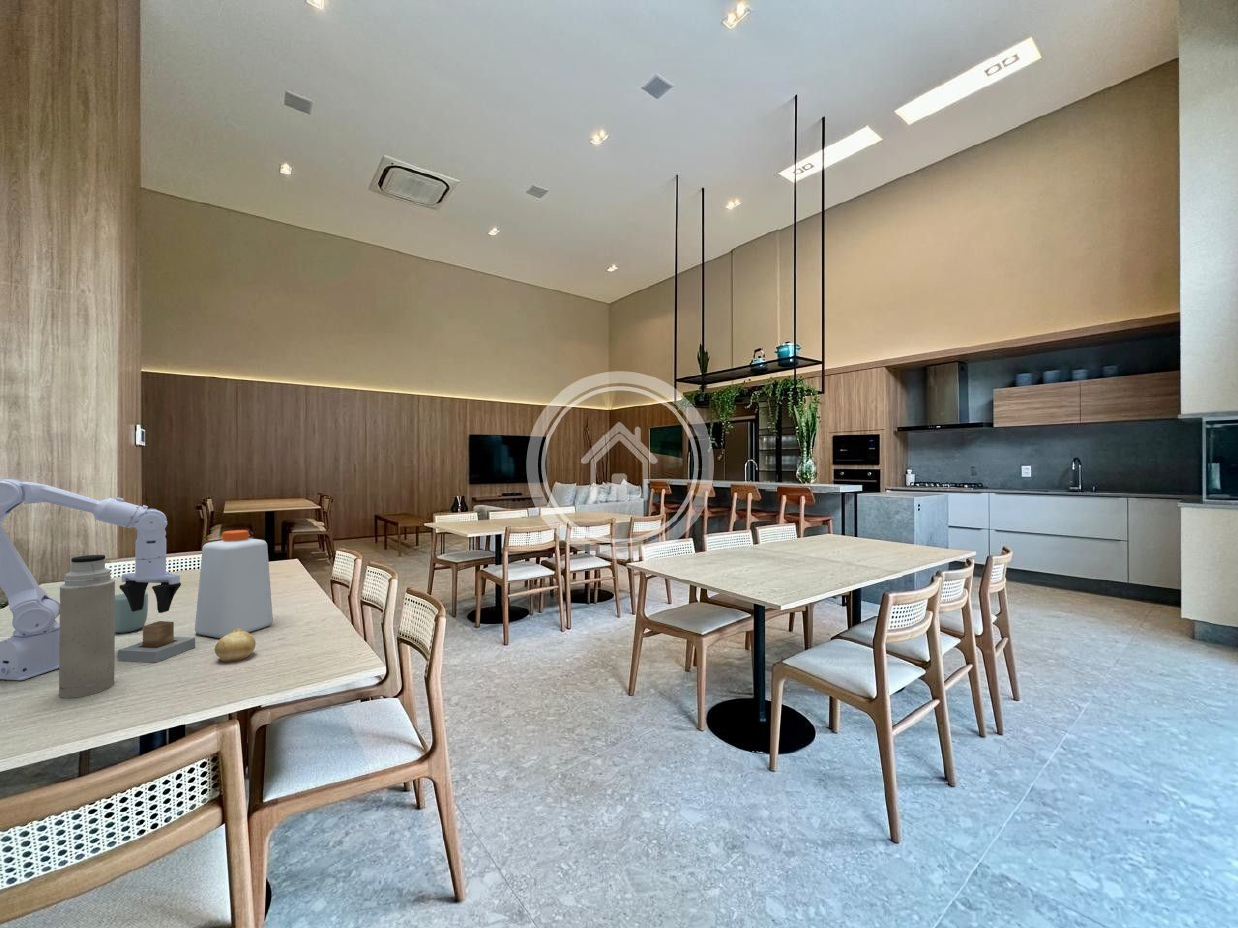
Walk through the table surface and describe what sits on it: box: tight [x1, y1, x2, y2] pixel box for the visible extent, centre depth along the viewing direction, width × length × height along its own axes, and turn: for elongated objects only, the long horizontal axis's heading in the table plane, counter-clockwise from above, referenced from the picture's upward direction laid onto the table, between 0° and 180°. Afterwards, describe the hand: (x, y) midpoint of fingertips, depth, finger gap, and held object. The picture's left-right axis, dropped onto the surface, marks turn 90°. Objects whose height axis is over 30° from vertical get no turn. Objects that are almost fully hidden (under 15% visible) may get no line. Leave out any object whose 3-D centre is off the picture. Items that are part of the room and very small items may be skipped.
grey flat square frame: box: [117, 636, 196, 664], centre depth 125 cm, size 10×10×2 cm
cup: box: [115, 591, 149, 634], centre depth 141 cm, size 8×8×10 cm
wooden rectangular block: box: [142, 620, 175, 648], centre depth 125 cm, size 4×4×7 cm
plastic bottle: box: [194, 529, 274, 639], centre depth 143 cm, size 15×15×28 cm
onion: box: [214, 628, 257, 663], centre depth 122 cm, size 8×8×7 cm
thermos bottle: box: [58, 554, 116, 699], centre depth 105 cm, size 8×8×28 cm
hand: (150, 611), depth 127 cm, fingers open, 7 cm apart
